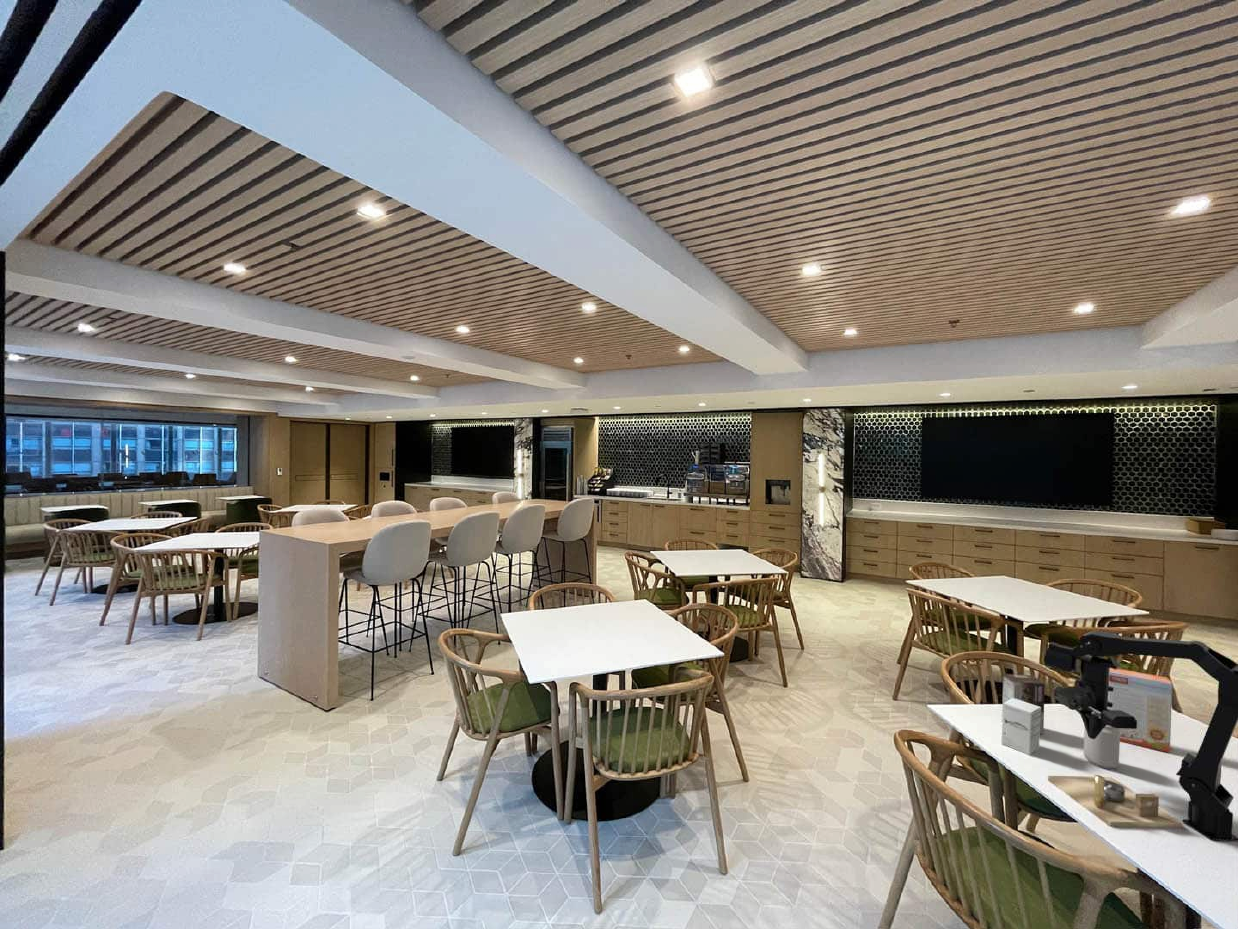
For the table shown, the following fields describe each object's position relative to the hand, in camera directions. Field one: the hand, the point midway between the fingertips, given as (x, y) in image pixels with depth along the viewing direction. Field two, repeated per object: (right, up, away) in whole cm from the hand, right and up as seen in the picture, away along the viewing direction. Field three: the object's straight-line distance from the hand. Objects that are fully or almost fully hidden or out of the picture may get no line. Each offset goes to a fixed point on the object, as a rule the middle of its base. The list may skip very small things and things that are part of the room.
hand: (1091, 738), depth 143 cm
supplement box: (-6, -12, +18) cm, 22 cm away
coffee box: (+3, -12, +29) cm, 32 cm away
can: (+12, -12, +10) cm, 20 cm away
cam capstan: (-5, -11, -9) cm, 15 cm away
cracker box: (+33, -13, +23) cm, 42 cm away
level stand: (-2, -12, -8) cm, 15 cm away
